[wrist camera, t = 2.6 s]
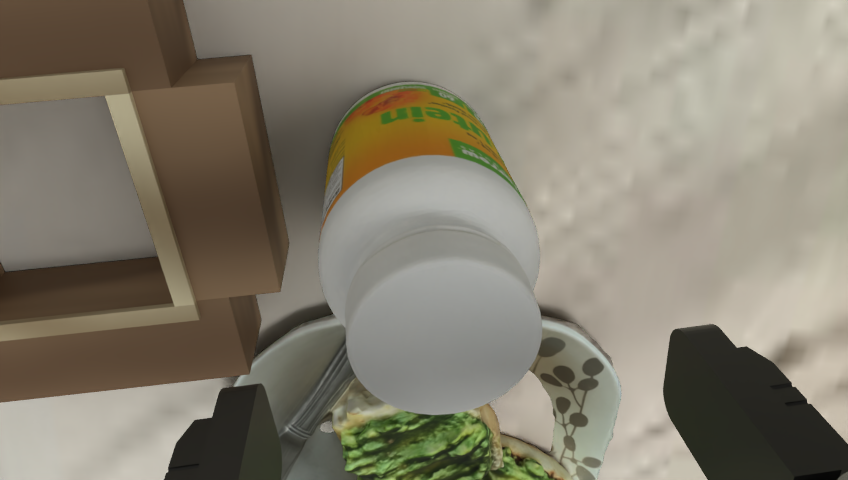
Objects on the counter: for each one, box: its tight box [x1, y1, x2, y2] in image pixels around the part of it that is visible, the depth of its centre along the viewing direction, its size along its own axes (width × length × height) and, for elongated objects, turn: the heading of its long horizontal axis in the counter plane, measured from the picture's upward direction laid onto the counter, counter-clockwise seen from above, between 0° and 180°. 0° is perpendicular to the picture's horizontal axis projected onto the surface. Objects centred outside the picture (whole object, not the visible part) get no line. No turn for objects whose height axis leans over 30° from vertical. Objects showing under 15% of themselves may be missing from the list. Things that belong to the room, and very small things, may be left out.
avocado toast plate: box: [233, 314, 621, 480], centre depth 25 cm, size 19×18×5 cm
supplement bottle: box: [318, 82, 542, 415], centre depth 16 cm, size 5×5×10 cm
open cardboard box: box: [0, 0, 289, 402], centre depth 18 cm, size 13×13×3 cm
